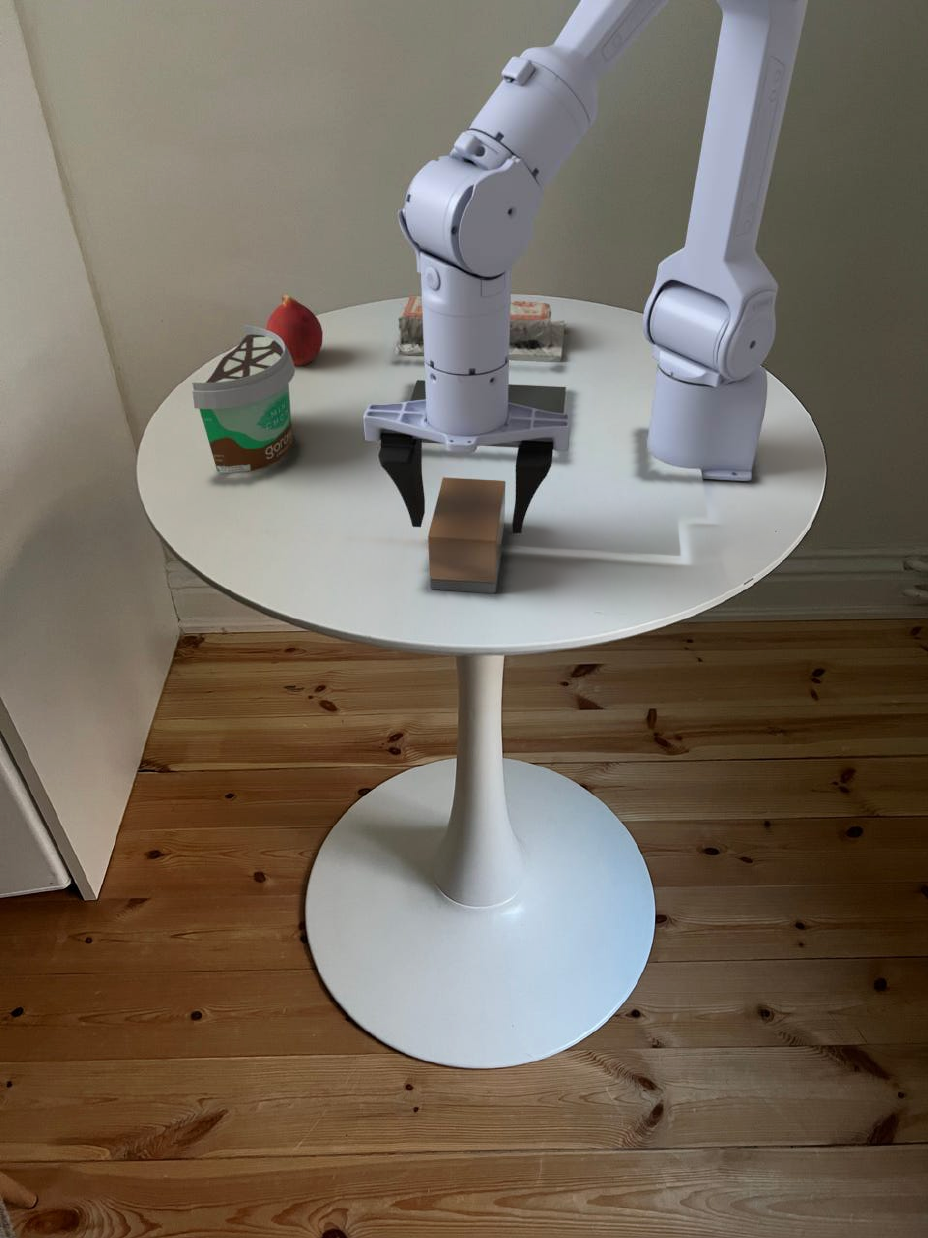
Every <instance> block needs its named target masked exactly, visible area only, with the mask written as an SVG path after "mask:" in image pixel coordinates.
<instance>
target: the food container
mask: <svg viewBox="0 0 928 1238" xmlns="http://www.w3.org/2000/svg"><path fill="white" fill-rule="evenodd" d="M243 329H244V335H245V337H243V338H242V340H241V342H240V343H239V344H238V345H237V346H236V347H235V349H233V350H232V351H229V352H228V353H227V354H226V355H225V356H223V357H222V358H221V360H220V362H219V363H218V364H217V366H216V368H215V370H214V371H213V373H212V374H211V375H210V377H209V378H208V379H207V380H206V382H194V381H193V382H192V388H193V390H192V397H193V405H194V406H193V407H194V409H197V410H199V413H200V416H201V420H202V423H203V427H204V430H205V435H206V437H207V439H208V440H207V441H208V444H209V447H210V452H211V455H212V459H213V462H214V465H215V468H216V473H222V474H235V473H246V472H247V473H248V472H252V471H255V470H259V469H263V468H265V467H268V466H270V465H271V464H274V463H277V462H278V461H280V460H281V459H282V458H284V457H285V456H286V455H287V454H288V453H289V452H290V450H291V448H292V446H293V442H294V441H293V428H292V414H291V413H292V412H291V400H290V399H291V398H290V386H289V385H290V384H289V383H290V382H291V381H292V379H293V378H294V376H295V373H296V368H295V367H296V366H294V363H293V360H292V358H291V355H290V353H289V350H288V348H287V346H286V345H285V344H284V342H283V340H282V339H281V338H280V337H279V336H278V335H276V334H275V333H273V332H270V331H268V330H266V328H261V327H258V326H253V325H243Z"/></svg>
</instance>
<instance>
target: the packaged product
mask: <svg viewBox="0 0 928 1238" xmlns="http://www.w3.org/2000/svg"><path fill="white" fill-rule="evenodd" d="M400 312H401V313H400V315H399V317H398V330H399V337H398V341H397V343H396V346H395V352H394V353H395V354H396V355H397V356H405V357H424V338H423V312H422V295H415V296H409V297H408V298H407V301H406V304H405V305H404V307H402V311H400ZM551 317H552V309H551V305H550V304H549V303H547V302H536V301H525V300H520V301H517V300H511V301H510V339H509V361H516V362H517V361H518V362H537V363H560V362H561V361H562V359H563V345H564V342H565V341H564V339H565V338H564V337H565V320H555V321H553V320H551V319H552V318H551Z"/></svg>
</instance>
